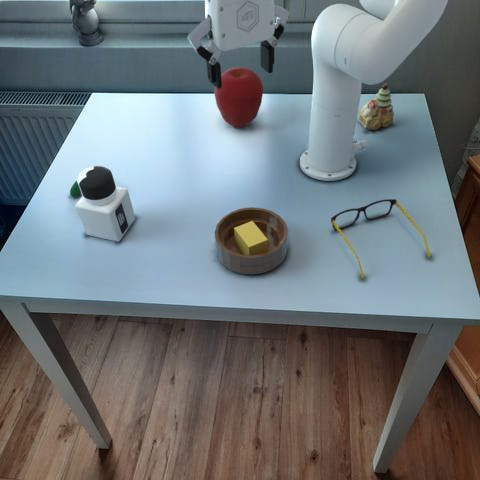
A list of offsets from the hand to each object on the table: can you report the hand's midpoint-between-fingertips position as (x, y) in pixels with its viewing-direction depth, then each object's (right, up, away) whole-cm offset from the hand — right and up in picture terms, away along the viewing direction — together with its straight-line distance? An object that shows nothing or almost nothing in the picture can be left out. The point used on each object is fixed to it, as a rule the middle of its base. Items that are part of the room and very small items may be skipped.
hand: (241, 77), depth 80 cm
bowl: (+2, -28, +12) cm, 30 cm away
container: (-27, -22, +18) cm, 39 cm away
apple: (0, +9, +40) cm, 41 cm away
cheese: (+2, -27, +12) cm, 30 cm away
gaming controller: (-32, -13, +25) cm, 43 cm away
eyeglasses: (+26, -26, +12) cm, 39 cm away
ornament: (+33, +7, +37) cm, 50 cm away
